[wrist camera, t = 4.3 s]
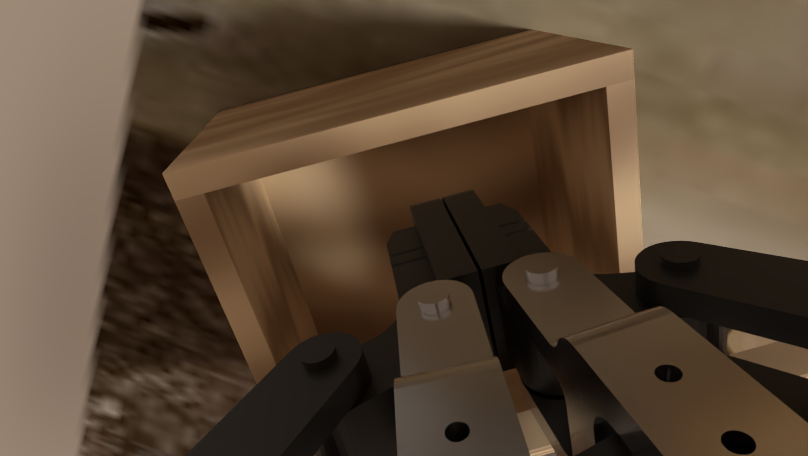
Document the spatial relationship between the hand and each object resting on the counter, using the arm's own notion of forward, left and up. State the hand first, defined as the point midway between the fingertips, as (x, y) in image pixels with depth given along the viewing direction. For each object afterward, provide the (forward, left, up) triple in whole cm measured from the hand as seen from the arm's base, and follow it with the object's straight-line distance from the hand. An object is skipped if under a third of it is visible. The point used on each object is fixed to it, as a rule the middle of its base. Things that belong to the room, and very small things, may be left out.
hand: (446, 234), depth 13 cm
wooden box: (+6, 0, -16) cm, 18 cm away
